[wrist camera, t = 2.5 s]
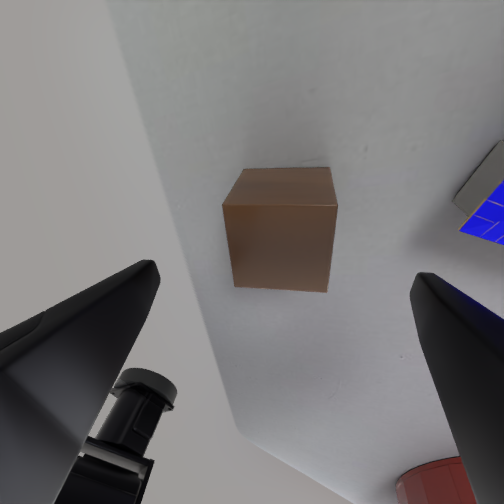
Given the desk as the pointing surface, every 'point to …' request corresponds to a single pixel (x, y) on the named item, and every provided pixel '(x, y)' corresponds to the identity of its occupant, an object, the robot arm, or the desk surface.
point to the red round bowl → (436, 484)
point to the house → (485, 198)
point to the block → (281, 228)
